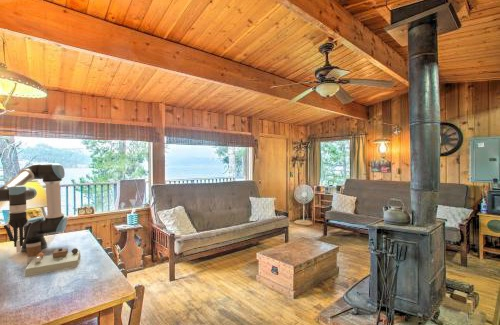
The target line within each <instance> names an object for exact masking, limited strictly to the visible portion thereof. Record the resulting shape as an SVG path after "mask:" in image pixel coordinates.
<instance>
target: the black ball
mask: <svg viewBox="0 0 500 325" xmlns="http://www.w3.org/2000/svg"><path fill="white" fill-rule="evenodd" d="M78 249H79V248H76V247H75V248H72V249H71V252H72V253H73V254H76V253H77V252H78V251H79V250H78Z"/></svg>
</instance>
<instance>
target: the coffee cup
mask: <svg viewBox="0 0 500 325" xmlns="http://www.w3.org/2000/svg"><path fill="white" fill-rule="evenodd" d="M41 241H42V240H41V237H35V238H29V239H27V240H26V242H25V244H26V250H27V252H26V255H27V262H28V263H30V262H31V261H32V260H33V258H37V254H39V253H41V250H42V249H41Z"/></svg>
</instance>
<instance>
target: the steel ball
mask: <svg viewBox="0 0 500 325" xmlns="http://www.w3.org/2000/svg"><path fill="white" fill-rule="evenodd" d="M34 261H35V263H39V262H41V261H42V258H41V257H37V258H35V260H34Z"/></svg>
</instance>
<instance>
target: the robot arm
mask: <svg viewBox="0 0 500 325" xmlns="http://www.w3.org/2000/svg"><path fill="white" fill-rule="evenodd" d="M65 173H66V172H65V169H64V166H63V165H62V164H61V163H56V162H55V163H50V162H49V163H34V164H31V165H27V166H26V167H24V168H22V169H21V170H19V171H18V172H17V175H15V176H14V177H12V178H11V179H10V180H9V181H7V182H6V183H5V184H3V185H2V186H1V187H0V202H9V203H8V207H9V208H8V210H9V221H8V223H6V224H5V225H3V228H4V229H5V231H6V234H7V236H8V239H9V242H13V246H14V248H16V253H17V254H18V253H21V252H26V253H27V250H26V244H25V242H26V240H27V239H29V238H35V237H41V240H42V241H41V250H43V249H45V248H47V247H48V243H47V241H46V239H45V235H47V234H48V235H49V234H58V233H63V232H64V231H65V230H66V229H67V228H66V227H67V225H68V217H66V216H65V214H64V213H63V212H62V204H61V187H60V185H61V184H60V183H61V182H62V181H63V179H64V177H65ZM34 180H42V183H44V184H45V195H46V196H45V197H46V199H45V200H46V210H47V211H46V212H47V214H46V215H45V218H44V216H37V217H33V218H28V217H27V216H28V214H27V201H28V200H29V201H30V200H32V199H34V198H36V196H37V192H38V191H37V190H36V188H34V187H27V186H25V185H26V184H27V183H28V182H29V183H30V182H31V181H34ZM10 227H12V229H13V232H12V230H11V228H10ZM18 230H19V235H18ZM18 237H19V238H18Z"/></svg>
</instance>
